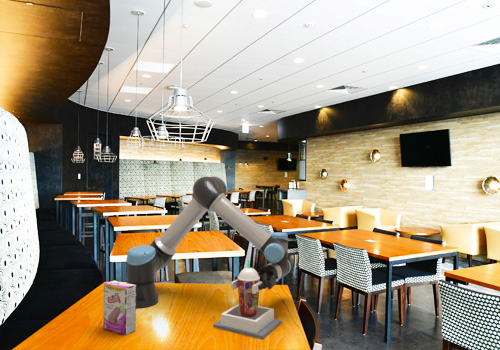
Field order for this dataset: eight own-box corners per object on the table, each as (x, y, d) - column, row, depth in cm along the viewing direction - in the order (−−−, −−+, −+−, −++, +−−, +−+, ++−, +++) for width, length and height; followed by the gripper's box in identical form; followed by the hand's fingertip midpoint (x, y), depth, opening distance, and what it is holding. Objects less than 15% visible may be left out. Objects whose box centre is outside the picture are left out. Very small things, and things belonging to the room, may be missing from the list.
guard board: (213, 327, 132) (213, 313, 132) (235, 313, 146) (235, 300, 147) (262, 339, 123) (262, 324, 123) (281, 323, 137) (281, 309, 137)
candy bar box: (102, 329, 129) (103, 283, 129) (113, 324, 133) (114, 279, 134) (125, 336, 124) (126, 288, 124) (136, 331, 128) (136, 284, 128)
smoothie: (257, 319, 130) (257, 263, 130) (234, 317, 131) (235, 262, 132) (261, 311, 138) (261, 258, 138) (240, 309, 140) (240, 257, 140)
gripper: (293, 286, 146) (268, 303, 126) (247, 279, 156) (217, 294, 136) (293, 267, 146) (268, 281, 126) (247, 261, 156) (217, 273, 136)
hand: (242, 288), depth 131 cm, fingers closed on smoothie, 8 cm apart
